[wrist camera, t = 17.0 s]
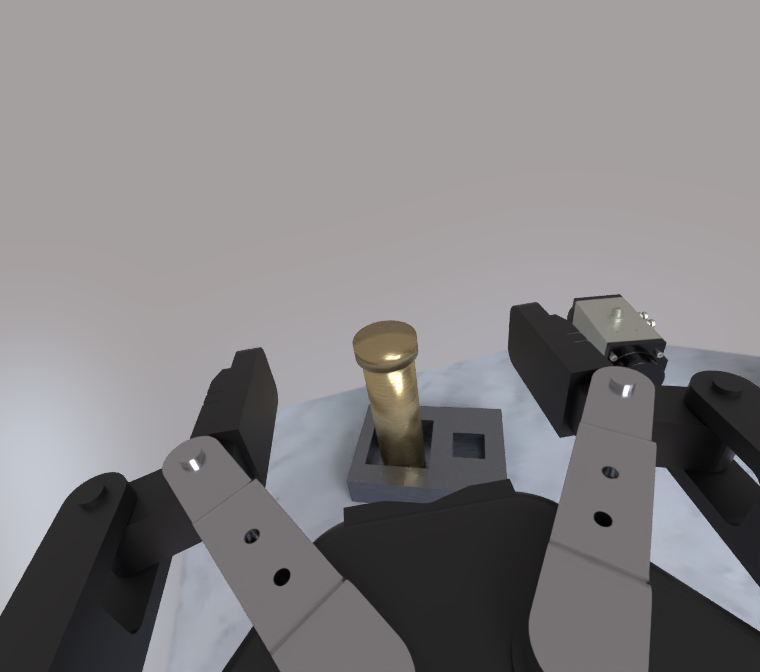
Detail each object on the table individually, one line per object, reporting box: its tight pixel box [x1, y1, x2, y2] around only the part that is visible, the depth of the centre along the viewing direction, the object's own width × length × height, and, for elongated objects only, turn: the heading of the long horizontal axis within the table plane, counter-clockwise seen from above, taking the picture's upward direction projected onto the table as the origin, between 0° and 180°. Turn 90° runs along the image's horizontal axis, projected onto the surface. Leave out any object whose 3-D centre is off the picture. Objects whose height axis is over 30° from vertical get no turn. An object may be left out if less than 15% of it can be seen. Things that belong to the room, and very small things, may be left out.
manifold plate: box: [347, 404, 507, 503], centre depth 40 cm, size 14×10×3 cm
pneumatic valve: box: [567, 294, 668, 385], centre depth 41 cm, size 6×12×12 cm, turn 178°
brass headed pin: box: [353, 321, 426, 468], centre depth 37 cm, size 5×5×15 cm
